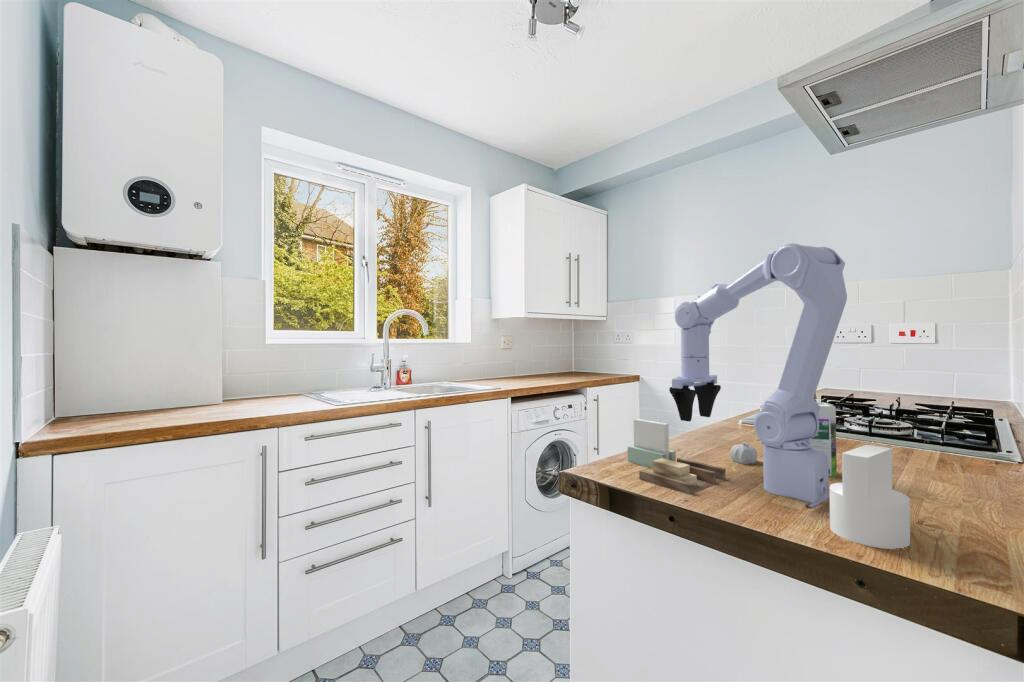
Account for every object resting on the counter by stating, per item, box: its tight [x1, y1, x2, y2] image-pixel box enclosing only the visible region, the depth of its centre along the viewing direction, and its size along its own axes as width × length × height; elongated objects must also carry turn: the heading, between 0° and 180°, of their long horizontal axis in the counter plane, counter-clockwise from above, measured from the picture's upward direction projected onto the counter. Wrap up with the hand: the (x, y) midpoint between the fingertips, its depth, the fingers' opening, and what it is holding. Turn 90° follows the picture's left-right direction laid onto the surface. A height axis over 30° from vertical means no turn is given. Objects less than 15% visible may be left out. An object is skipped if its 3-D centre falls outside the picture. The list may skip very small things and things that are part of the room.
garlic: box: [729, 441, 758, 465], centre depth 99 cm, size 6×5×5 cm
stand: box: [627, 445, 677, 469], centre depth 98 cm, size 9×5×4 cm, turn 36°
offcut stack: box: [652, 458, 697, 486], centre depth 85 cm, size 7×4×4 cm, turn 36°
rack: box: [638, 457, 732, 495], centre depth 87 cm, size 11×14×3 cm
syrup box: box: [810, 402, 838, 478], centre depth 92 cm, size 6×6×14 cm
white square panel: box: [633, 418, 670, 460], centre depth 98 cm, size 8×2×9 cm, turn 36°
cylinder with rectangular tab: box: [829, 444, 911, 550], centre depth 64 cm, size 9×9×12 cm
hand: (695, 418), depth 98 cm, fingers open, 7 cm apart
